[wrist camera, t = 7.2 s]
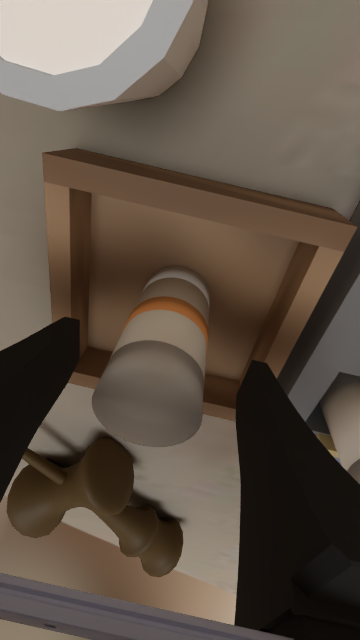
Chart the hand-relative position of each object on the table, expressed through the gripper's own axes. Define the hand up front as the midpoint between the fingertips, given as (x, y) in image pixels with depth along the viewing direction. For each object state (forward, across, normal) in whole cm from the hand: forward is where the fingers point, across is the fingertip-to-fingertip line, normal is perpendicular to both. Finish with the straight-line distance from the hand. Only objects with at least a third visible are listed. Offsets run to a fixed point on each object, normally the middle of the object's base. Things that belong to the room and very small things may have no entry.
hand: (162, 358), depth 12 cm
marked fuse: (+5, 0, 0) cm, 5 cm away
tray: (+6, 0, 0) cm, 6 cm away
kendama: (+6, +3, +22) cm, 23 cm away
